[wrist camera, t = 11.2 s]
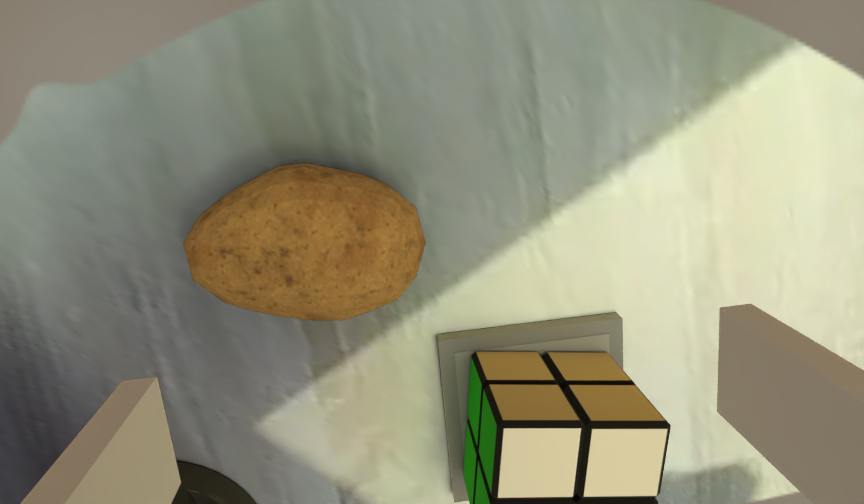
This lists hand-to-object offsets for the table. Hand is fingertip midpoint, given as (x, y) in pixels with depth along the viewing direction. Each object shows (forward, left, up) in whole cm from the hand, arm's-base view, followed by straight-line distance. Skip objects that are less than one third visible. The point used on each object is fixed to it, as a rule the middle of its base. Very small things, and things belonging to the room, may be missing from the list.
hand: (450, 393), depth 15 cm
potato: (-6, -2, -29) cm, 30 cm away
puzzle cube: (+8, -17, -28) cm, 33 cm away
